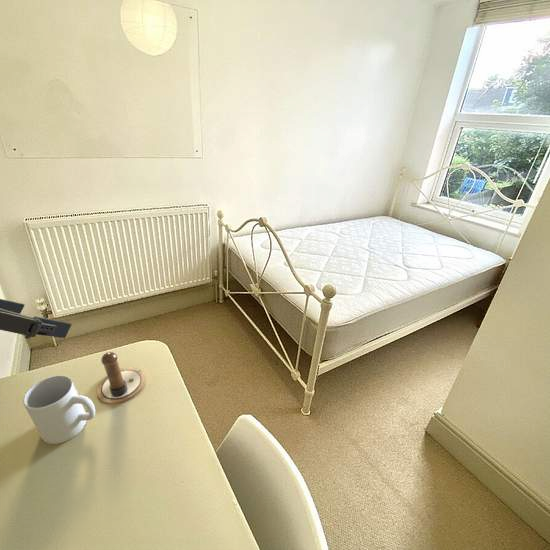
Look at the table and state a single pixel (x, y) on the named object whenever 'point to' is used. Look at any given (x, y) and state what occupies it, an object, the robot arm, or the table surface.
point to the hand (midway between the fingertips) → (43, 320)
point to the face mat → (133, 382)
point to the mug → (57, 409)
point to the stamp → (114, 374)
